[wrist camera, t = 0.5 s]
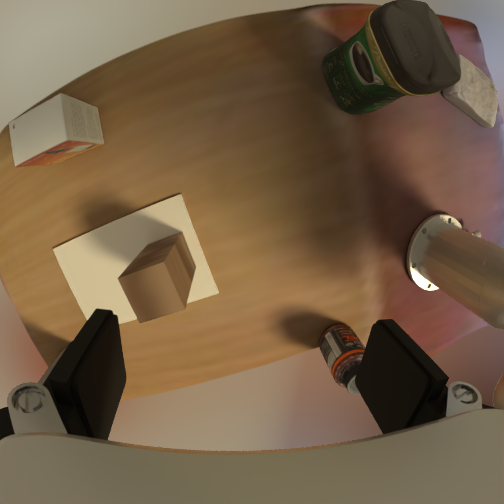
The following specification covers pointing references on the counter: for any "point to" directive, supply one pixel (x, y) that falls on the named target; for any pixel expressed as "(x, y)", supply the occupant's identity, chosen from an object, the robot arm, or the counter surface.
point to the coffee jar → (392, 58)
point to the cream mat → (128, 257)
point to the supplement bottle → (342, 355)
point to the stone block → (474, 94)
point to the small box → (55, 132)
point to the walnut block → (159, 278)
